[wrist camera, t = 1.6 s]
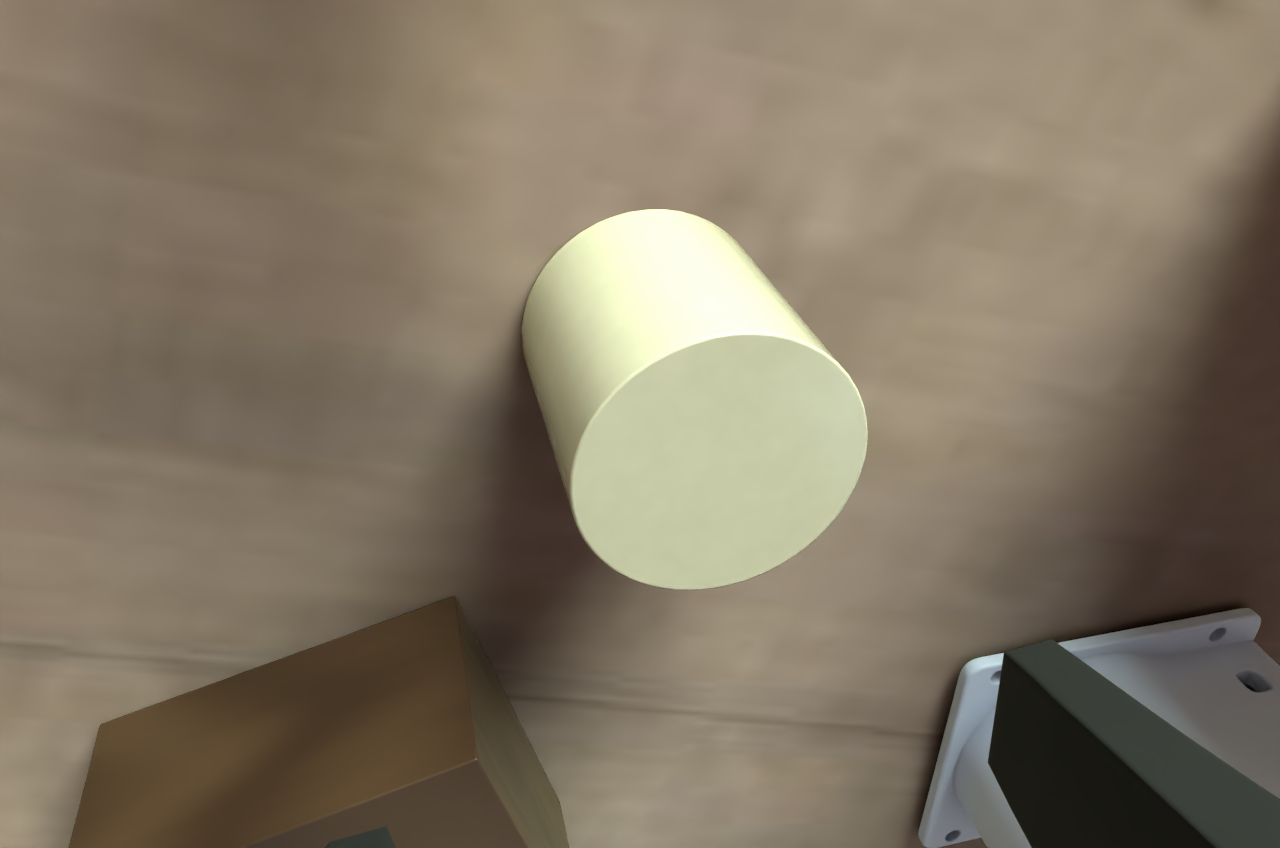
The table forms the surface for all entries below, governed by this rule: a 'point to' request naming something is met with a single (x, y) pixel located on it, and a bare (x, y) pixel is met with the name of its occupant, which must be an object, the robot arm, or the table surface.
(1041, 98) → the table surface
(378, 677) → the brown wooden square block
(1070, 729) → the robot arm
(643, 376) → the canister
